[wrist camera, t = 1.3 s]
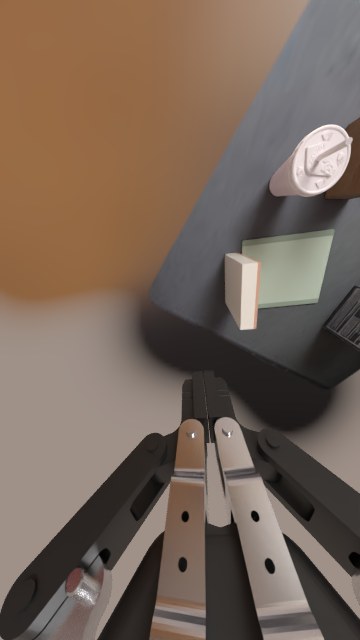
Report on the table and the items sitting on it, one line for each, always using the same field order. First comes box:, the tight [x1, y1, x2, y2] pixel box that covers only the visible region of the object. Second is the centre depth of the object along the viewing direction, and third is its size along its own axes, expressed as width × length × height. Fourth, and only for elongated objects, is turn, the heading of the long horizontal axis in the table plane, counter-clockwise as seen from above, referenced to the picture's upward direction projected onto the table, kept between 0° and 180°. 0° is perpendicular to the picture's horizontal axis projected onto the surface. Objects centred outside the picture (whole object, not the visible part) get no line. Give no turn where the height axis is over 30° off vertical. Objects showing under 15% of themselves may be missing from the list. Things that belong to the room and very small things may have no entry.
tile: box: [225, 253, 261, 330], centre depth 31 cm, size 2×10×12 cm, turn 7°
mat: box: [242, 229, 335, 309], centre depth 35 cm, size 16×14×1 cm
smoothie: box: [269, 125, 353, 197], centre depth 23 cm, size 6×6×14 cm
